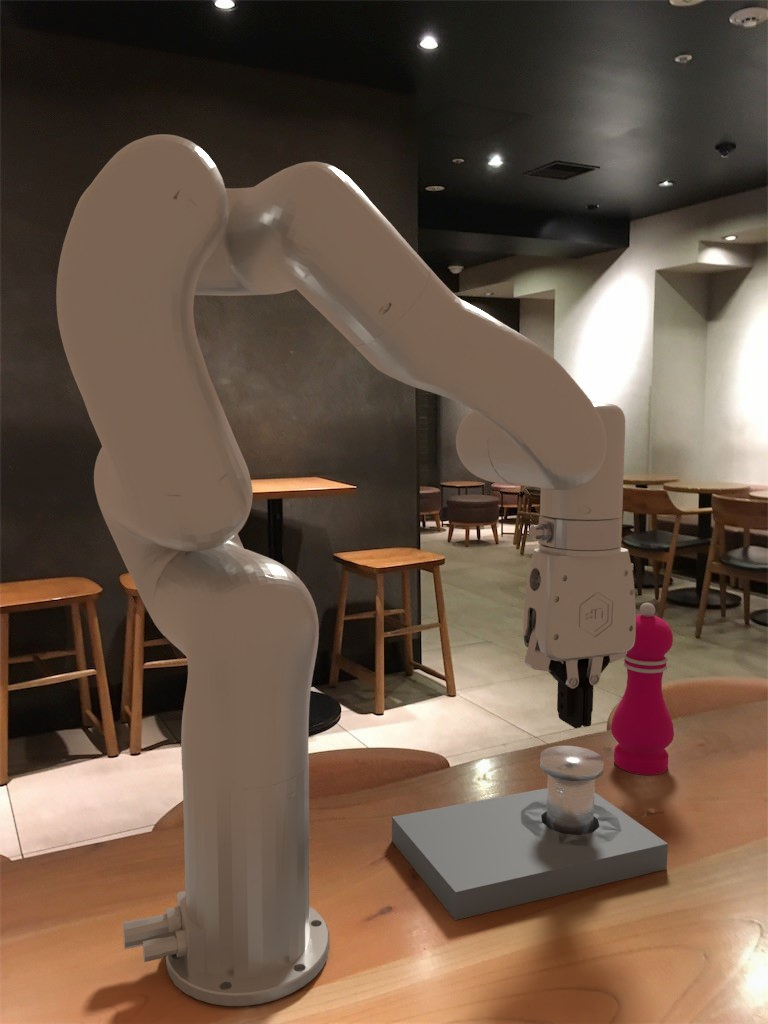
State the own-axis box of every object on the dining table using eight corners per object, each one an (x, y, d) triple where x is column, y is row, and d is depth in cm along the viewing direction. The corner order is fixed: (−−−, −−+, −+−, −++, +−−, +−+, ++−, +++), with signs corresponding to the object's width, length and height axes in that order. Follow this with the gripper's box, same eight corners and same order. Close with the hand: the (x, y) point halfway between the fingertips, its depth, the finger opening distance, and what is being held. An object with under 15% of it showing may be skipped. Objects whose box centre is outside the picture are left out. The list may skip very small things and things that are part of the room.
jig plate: (455, 920, 70) (455, 892, 70) (391, 840, 83) (392, 816, 83) (666, 868, 78) (667, 843, 78) (579, 803, 91) (579, 781, 91)
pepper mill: (676, 780, 97) (684, 611, 95) (611, 774, 99) (618, 608, 96) (668, 755, 104) (675, 597, 102) (608, 750, 106) (614, 594, 103)
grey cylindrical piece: (560, 866, 78) (563, 775, 77) (526, 836, 84) (528, 750, 83) (613, 854, 81) (616, 765, 80) (576, 826, 86) (579, 742, 85)
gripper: (532, 545, 73) (528, 748, 75) (671, 536, 78) (663, 725, 80) (490, 533, 79) (487, 719, 82) (620, 525, 85) (614, 700, 87)
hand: (574, 722), depth 81 cm, fingers closed
